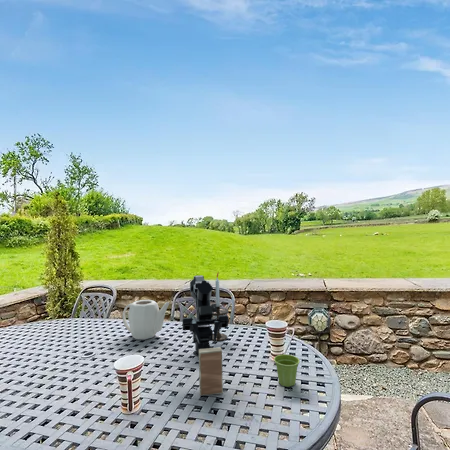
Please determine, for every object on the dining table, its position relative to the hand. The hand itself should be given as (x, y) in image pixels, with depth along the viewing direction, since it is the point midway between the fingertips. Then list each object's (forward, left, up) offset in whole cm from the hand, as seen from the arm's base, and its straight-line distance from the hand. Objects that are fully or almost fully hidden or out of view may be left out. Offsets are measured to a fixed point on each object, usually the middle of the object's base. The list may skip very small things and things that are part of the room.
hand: (207, 342), depth 120 cm
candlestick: (-27, +33, -14) cm, 45 cm away
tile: (+8, -7, -14) cm, 17 cm away
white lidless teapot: (-59, +10, -14) cm, 61 cm away
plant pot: (+25, +16, -14) cm, 33 cm away
